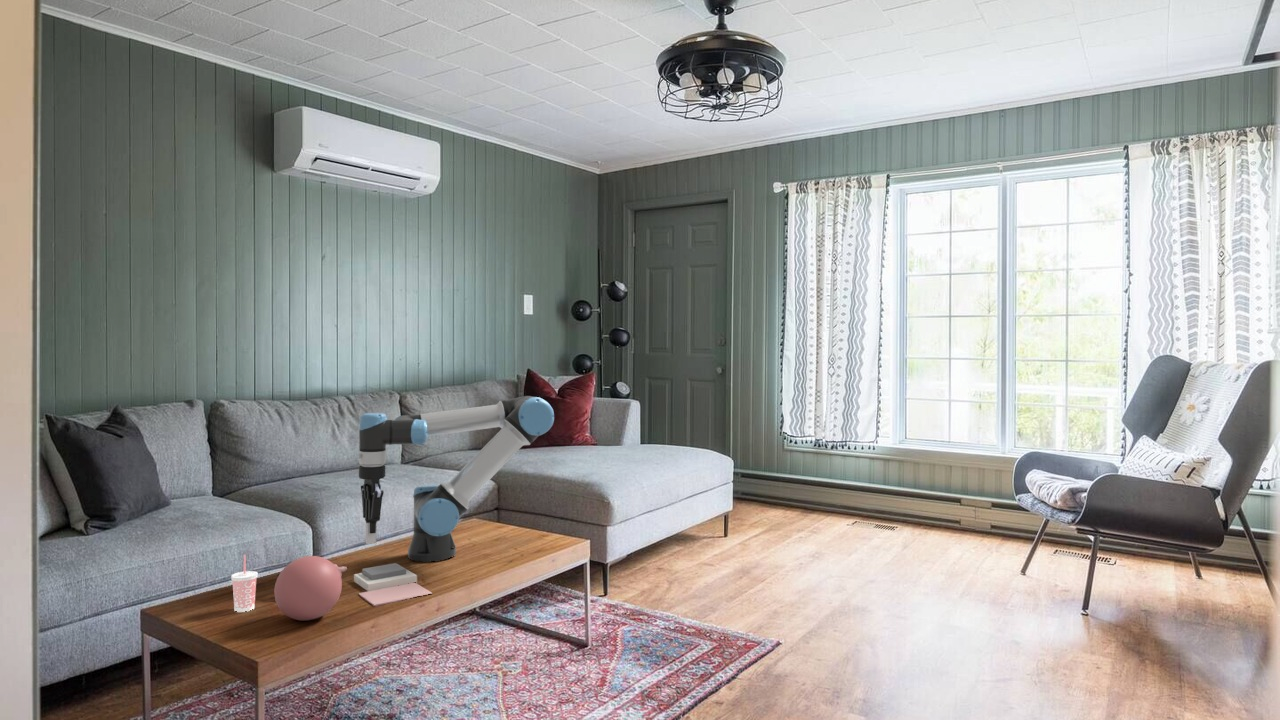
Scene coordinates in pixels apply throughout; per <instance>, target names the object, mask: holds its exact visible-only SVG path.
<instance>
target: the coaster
mask: <svg viewBox="0 0 1280 720" xmlns="http://www.w3.org/2000/svg"><path fill="white" fill-rule="evenodd" d="M406 569H407V568H405V567H403V566H402V565H400V564H398V563H397V562H394V563H388V564H383V565H376V566H372V567H366V568H361V573H362V574H363V575H364V576H366V577H367V578H369V579H370V580H378V579H383V578H389V577H394V576H399V575H405V574H406Z"/></svg>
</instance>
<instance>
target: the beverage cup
mask: <svg viewBox="0 0 1280 720" xmlns="http://www.w3.org/2000/svg"><path fill="white" fill-rule="evenodd" d="M246 556H247V555H246V554H243V571H239V572H235V573H233V574H231V577H230V579H231V581H232V591H233V609H234V612H235V611H237V612H236V613H246V612H245V611H247V612H250V610H251V611H253V610H255V604H256V603H255V602H256V591H257V578H258V574H259V573H258V571H253V570H248V571H247V569H246V568H247V566H246V563H247V562H246V561H247V558H246ZM252 609H253V610H252Z"/></svg>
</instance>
